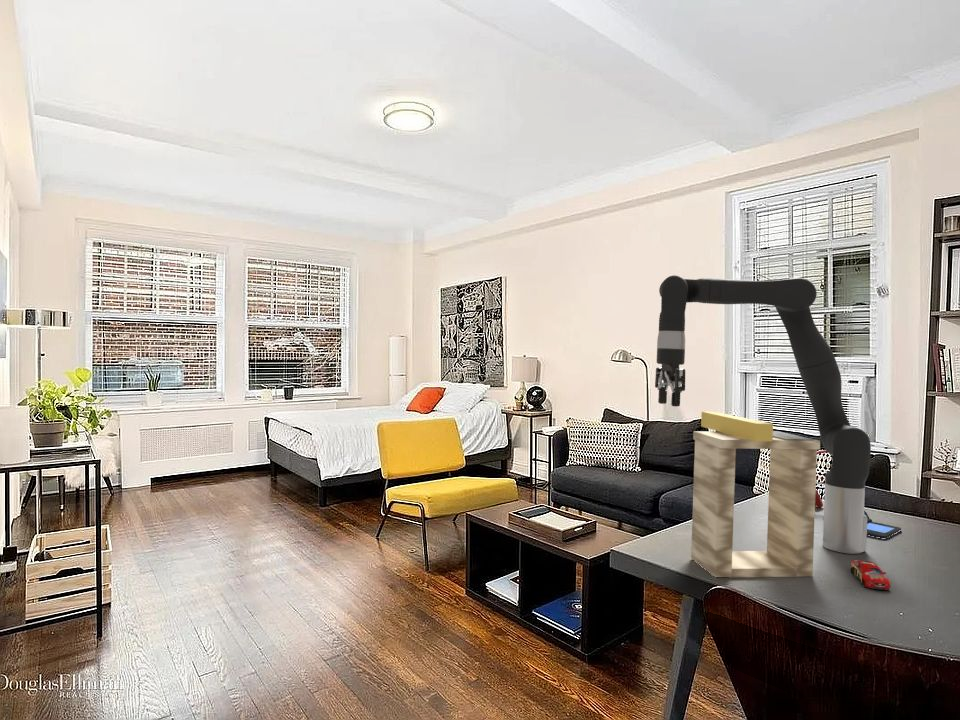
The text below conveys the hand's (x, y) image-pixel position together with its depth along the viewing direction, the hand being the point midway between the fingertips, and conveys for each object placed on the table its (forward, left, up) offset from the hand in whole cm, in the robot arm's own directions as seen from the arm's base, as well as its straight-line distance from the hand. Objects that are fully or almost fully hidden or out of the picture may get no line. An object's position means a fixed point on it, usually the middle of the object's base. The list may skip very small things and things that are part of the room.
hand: (668, 404), depth 169 cm
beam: (-7, +22, -5) cm, 24 cm away
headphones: (-69, -27, -37) cm, 83 cm away
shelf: (-10, +26, -37) cm, 46 cm away
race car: (-34, +35, -37) cm, 62 cm away
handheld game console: (-65, -3, -37) cm, 75 cm away
